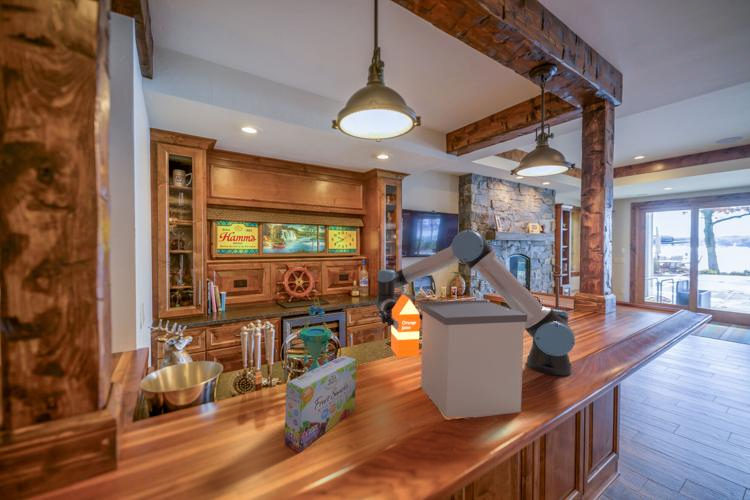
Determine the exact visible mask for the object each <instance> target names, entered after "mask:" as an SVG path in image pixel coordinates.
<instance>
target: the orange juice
mask: <svg viewBox="0 0 750 500" xmlns="http://www.w3.org/2000/svg"><path fill="white" fill-rule="evenodd" d="M396 302H397V303H396V304H395V306H394V307H393V309H392V317H394V318H395V319H396V320H398V321H399V328H398V329H397V330H396V329H395V328H394V327H393V326H392V325H391V326H390V328H391V331H390V332H391V338H390V339H391V340H390V342H391V344H390V349H391V350H392V352H393V353H394V355H396V357H397V358H403V357H404V358H407V357H419V354H420V353H419V352H420V351H419V348H420V345H419V344H420V328H419V318H420V314H421V313H419V310H418V309H417V308H416V306H415V305H414V303H413V301H412V300H411V299H410V298H409V297H407V295H404V294H403V293H402V294H401V295H400V297H399V299H398V300H397V301H396Z"/></svg>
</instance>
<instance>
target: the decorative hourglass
mask: <svg viewBox="0 0 750 500" xmlns="http://www.w3.org/2000/svg"><path fill="white" fill-rule="evenodd" d="M315 299H317V302H315V301H313V303H314V304H313V305H311V306H309V310H308V314H309V318H308V319H307V320H306V322H305V324H304V327H303V329H300V331H299V339H300V340H301V341H303V342H302V344H303V346H302V348H303V349H304V350H302V352H303V355H304V356H302V359H303V360H302V363H303V364H305V365H304V367H303V373H302V375H303V374H305V373H307V372H310V371H312V370H314V369H316V368H318V367H320V366H321V365H320V363H319V362H318V359H319V357H320V355H321V353H322V352H323V353H324V354H322V355H321V356H322V357H323V359H322V360H323V361H322V362H321V363H322V365H324V364H326V363H328V362H329V361H328V357H329V355H327V353H328V352H329V349H328V348H329V345H328V344H329V341H328V340H330V339H331V338H332V333H333V332H332V330H331V329H330V328H328V326H327V325H328V324H327V323H326V322H325V321H324V315H325V311H324V307H323V306H320V305H321V304H320V301H319V297H317V296H315V297H314V298H313V300H315ZM316 312H317V317H321V318H322V319H321V320H322V321H323V324H322V326H312V327H309V325H310V323H311V322H310V319H311V316H313V315H316ZM308 353H309V354H308ZM308 355H310V356H311V358H312V363H311V364H310V366H309V367H307V366H306V365H307V364H308V363H309V360H308V359H309V356H308Z"/></svg>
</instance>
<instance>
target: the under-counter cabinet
mask: <svg viewBox="0 0 750 500" xmlns="http://www.w3.org/2000/svg"><path fill="white" fill-rule="evenodd" d="M417 308H418V310H421V311H422V320H423V321H422V328H421V365H420V369H421V370H420V372H421V373H420V388H421V389H422V390H423V392H424V393H425V395H426V396H427V395H428V396H429V397H428V396H427V397H428V398H429V400H430V399H431V400H432V401H433V402H434V403H435V405H436V406H437V407H438V409H439V410H440V411H441V412H442V413H443V415H444V416H445V417H446V418H453V417H473V418H482V417H490V416H498V415H499V416H501V415H506V414H508V415H509V414H516V413H517V414H518V413H521V412H522V389H523V388H522V387H523V363H524V362H523V358H524V332H525V329H524V322H527V314H524V313H521V312H518V311H515V310H513V309H512V308H509V307H506V306H504V305H503V306H502V305H499V304H497V303H494V302H491V301H488V300H486V299H485V300H483V299H482V300H449V301H448V300H444V301H443V300H442V301H441V300H440V301H418V302H417ZM431 400H430V401H431ZM432 401H431V402H432ZM433 402H432V403H433ZM435 405H434V406H435ZM436 406H435V407H436ZM438 409H437V410H438ZM439 410H438V411H439Z"/></svg>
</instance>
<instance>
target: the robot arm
mask: <svg viewBox="0 0 750 500" xmlns="http://www.w3.org/2000/svg"><path fill="white" fill-rule="evenodd" d="M457 263H461V264H462V263H464V264H465V266H466V267H467V268H469V270H471V271H476V272H478V274H480V276H481V277H482V278H483V280H485V281H486V282H487V284H489V286H491V288H492V289H493V290H494V291H495V292H496V293H497V295H499V296H500V297H501V299H503V300H504V302H505V303H506V304H507V306H509V307H510V309H512V310H515V311H518V312H521V313H524V314H527V322H524V331H526V332H527V333H528V334H529V336H530V337H531V338H532V346H531V349H530V350H529V353H528V355H527V358H526V365H527V366H528V367H529V368H531V369H533V370H535V371H537V372H539V373H543V374H546V373H548V374H547V375H551V374H553V375H552V376H568V375H569V376H570V375H571V374H572V371H573V369H572V367H573V365H572V364H571V362H570V361H571V360H570V357H569V353H571V352H572V351H573V348H574V347H575V343H576V337H575V334H574V332H573V329H571V327H570V325H569V314H568V313H569V312H567V311H566V310H563V309H556V308H551V307H550V306H549V307H547V306H543V305H542V303H541V302H539V300H538V299H537V298H536V297H535V296H534V295H533V294H532V293H531V292H530V291H529V290H528V289H527V288H526V287H525V286H524V285H523V284H522V283H521V281H519V280H518V278H516V276H515V275H514V274H513V273H511V272H510V270H509V269H508V268H507V267H506V266H505V265H504V264H503V263H502V262H501V261H500V259H498V258H497V257H496V250H495V248H494V247H493V246H492V245H491V244H490V243H489V242H488V241H487V239H486V238H485V236H484V235H483V234H482V233H481V232H478V231H475V230H473V229H465V230H462V231H460V232H458V233H457V234H456V235H455V236H454V238H453V240H452V243H451V244H450V246H449V247H446V248H444V249H441V250H440V251H438V252H435V253H433V254H431V255H428V256H427V257H425V258H423V259H420V260H419V261H416V262H414V263H412V264H409V265H408V266H405V267H403V268H402V269H399V270H396V271H395V270H394V269H380V270H378V276H377V297H376V300H375V306H376V308H377V310H378V312H379V313H378V318H380V319H381V323H382V324H386V323H387V326H389V327H391V325H392V326H393V327H394V328H395V329H396V330H397V329H398V328H399V321H398V320H396V319H395V318H394V317H392V309H393V307H394V306H395V304H396V303H397V302H398V301H397V300H395V294H396V293H395V291H396V290H395V289H398V288H402V287H404V286H406V285H408V284H410V283H412V282H414V281H417V280H419V279H422V278H424V277H426V276H429V275H431V274H433V273H435V272H437V271H440V270H443V269H445V268H447V267H450V266H451V265H455V264H457ZM419 314H420V318H419V329H422V321H423V314H421V313H419Z"/></svg>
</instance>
